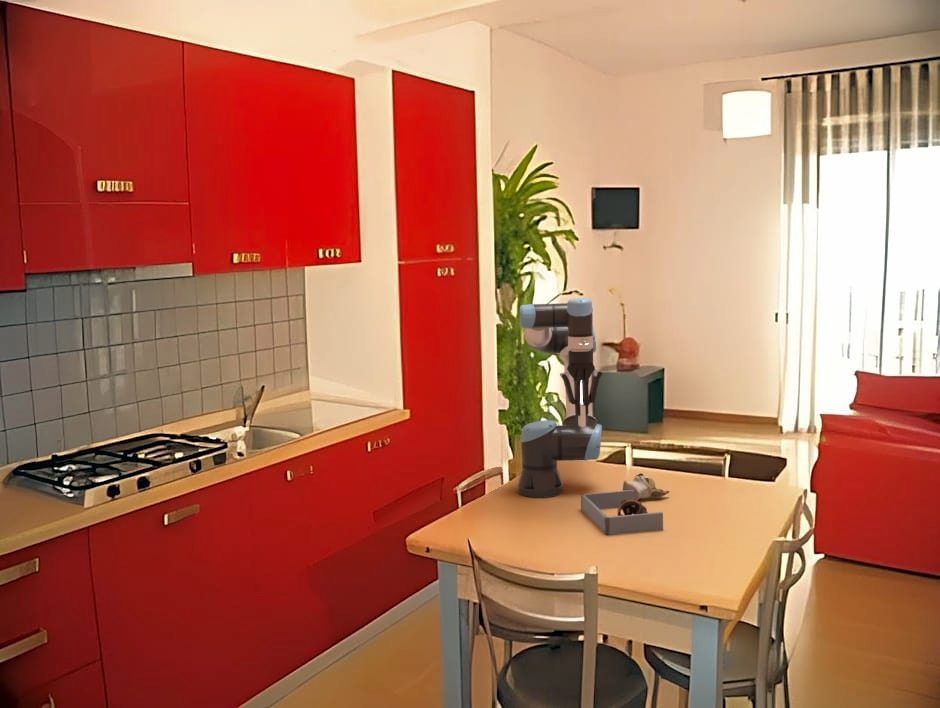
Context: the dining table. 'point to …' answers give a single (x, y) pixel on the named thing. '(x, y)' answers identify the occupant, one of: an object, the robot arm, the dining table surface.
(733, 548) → the dining table surface
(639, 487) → the ceramic sculpture
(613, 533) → the walled box
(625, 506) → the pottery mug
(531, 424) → the robot arm
